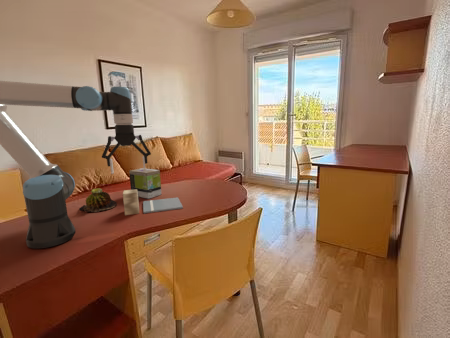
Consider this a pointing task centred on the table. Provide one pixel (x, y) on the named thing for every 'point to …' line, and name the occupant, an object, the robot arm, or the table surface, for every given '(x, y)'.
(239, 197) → the table surface
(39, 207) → the robot arm
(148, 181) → the tea box
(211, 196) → the table surface
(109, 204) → the cactus
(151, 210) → the board
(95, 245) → the table surface
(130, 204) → the beech block
